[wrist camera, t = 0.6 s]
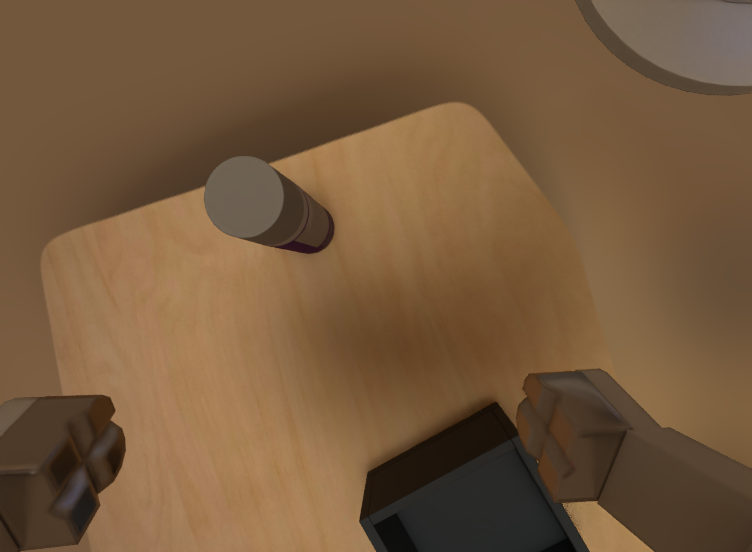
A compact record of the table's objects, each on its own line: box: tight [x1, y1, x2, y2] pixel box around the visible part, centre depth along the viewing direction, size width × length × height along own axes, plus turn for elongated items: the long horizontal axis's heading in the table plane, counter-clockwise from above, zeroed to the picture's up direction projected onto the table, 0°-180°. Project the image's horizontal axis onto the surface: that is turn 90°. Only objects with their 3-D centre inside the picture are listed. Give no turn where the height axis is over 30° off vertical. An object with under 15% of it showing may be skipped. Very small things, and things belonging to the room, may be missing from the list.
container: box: [204, 156, 334, 254], centre depth 28 cm, size 5×5×15 cm
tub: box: [359, 402, 590, 552], centre depth 31 cm, size 14×14×7 cm
